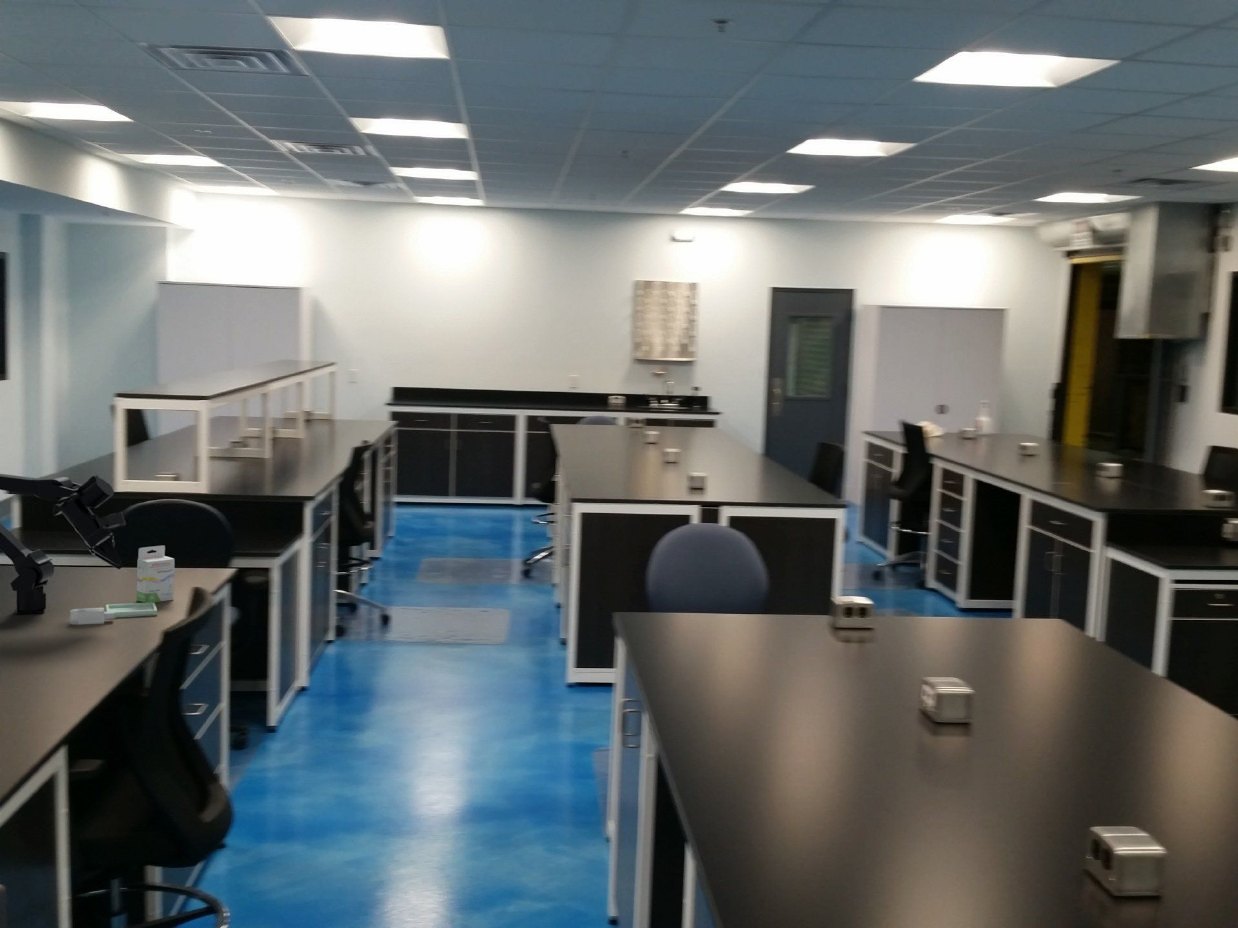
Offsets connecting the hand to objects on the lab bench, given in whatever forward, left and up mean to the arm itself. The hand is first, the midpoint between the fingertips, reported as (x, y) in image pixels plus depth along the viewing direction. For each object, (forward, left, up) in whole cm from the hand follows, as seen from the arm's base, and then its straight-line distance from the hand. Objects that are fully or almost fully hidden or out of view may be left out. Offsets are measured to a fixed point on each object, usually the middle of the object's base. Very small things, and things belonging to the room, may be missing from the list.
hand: (120, 566), depth 306 cm
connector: (-7, -5, -13) cm, 16 cm away
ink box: (+10, +16, -13) cm, 23 cm away
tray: (+3, +3, -13) cm, 14 cm away
